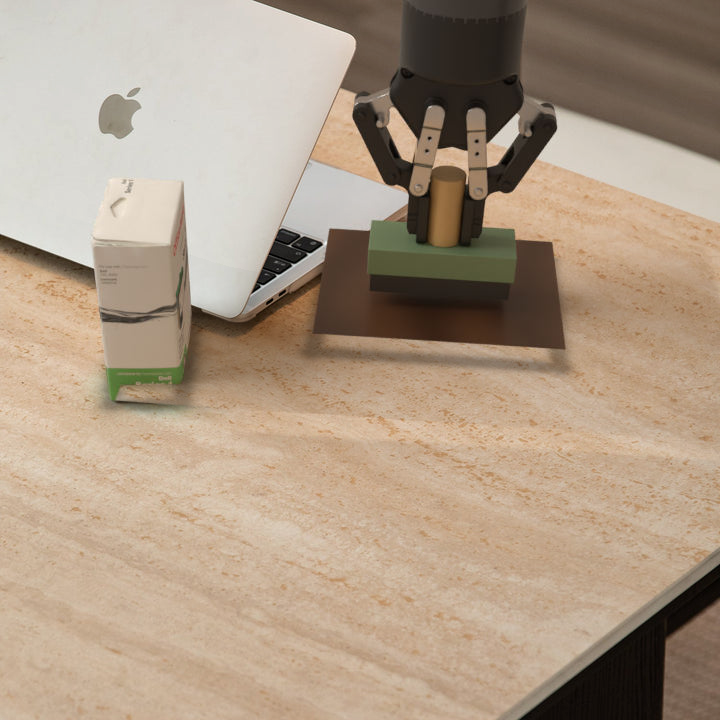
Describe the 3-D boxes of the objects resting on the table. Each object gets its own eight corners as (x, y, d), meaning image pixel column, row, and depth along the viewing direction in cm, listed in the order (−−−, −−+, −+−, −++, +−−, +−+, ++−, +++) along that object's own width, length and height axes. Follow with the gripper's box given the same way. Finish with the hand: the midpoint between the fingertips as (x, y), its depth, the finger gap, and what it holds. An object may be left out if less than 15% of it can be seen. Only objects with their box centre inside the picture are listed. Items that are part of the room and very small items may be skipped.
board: (549, 258, 95) (552, 241, 94) (562, 366, 84) (565, 348, 83) (328, 244, 96) (329, 227, 95) (312, 351, 84) (312, 332, 84)
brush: (509, 271, 89) (523, 164, 84) (511, 302, 85) (525, 192, 80) (369, 262, 89) (374, 154, 84) (366, 292, 86) (371, 183, 81)
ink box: (183, 403, 79) (173, 244, 72) (105, 402, 79) (87, 243, 72) (194, 326, 86) (186, 174, 79) (122, 325, 86) (108, 173, 79)
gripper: (345, 6, 72) (337, 261, 82) (586, 20, 72) (548, 274, 82) (354, -37, 78) (345, 205, 88) (576, -24, 78) (541, 217, 88)
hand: (443, 237), depth 85 cm, fingers closed on brush, 2 cm apart
